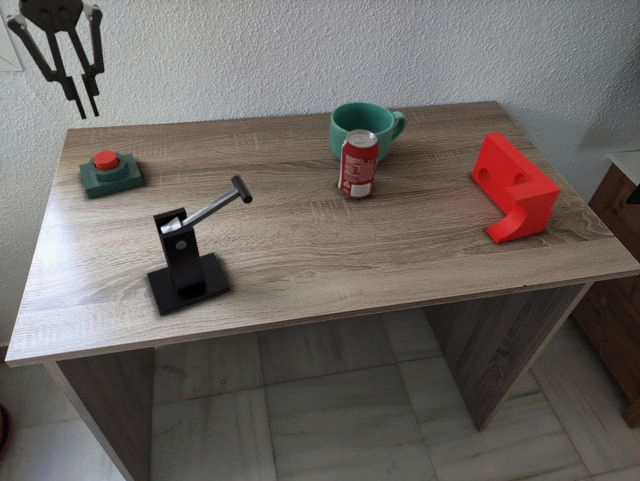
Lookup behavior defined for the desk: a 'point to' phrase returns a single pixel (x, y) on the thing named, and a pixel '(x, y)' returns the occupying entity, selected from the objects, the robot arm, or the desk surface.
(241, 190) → the lever
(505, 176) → the bracket
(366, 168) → the soda can
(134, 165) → the button box
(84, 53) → the robot arm
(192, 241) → the bracket
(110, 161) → the button
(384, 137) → the mug
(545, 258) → the desk surface
